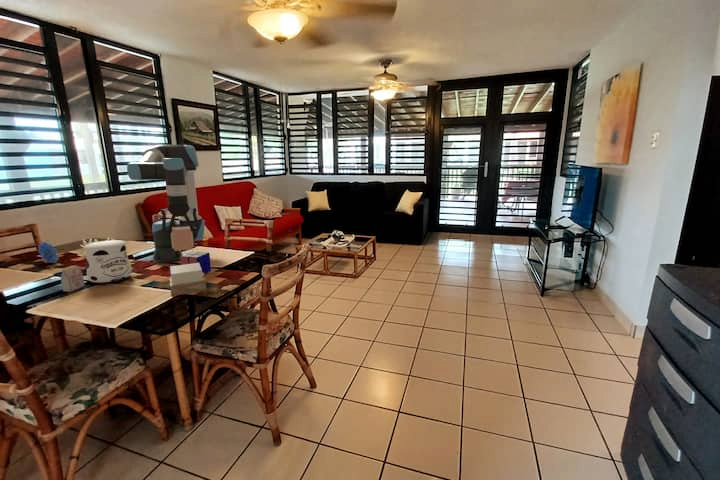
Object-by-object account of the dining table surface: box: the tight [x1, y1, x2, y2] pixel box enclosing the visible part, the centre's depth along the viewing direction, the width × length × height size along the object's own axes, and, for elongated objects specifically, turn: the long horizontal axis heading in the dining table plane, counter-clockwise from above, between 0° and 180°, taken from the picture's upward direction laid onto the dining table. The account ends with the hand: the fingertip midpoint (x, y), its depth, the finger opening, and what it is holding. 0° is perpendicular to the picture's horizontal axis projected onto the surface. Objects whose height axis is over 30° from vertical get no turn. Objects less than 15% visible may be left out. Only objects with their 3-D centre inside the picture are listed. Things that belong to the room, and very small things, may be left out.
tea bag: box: [60, 265, 86, 293], centre depth 150 cm, size 4×7×10 cm, turn 173°
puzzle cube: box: [179, 250, 212, 275], centre depth 172 cm, size 10×10×10 cm
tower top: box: [169, 263, 203, 285], centre depth 152 cm, size 12×12×5 cm
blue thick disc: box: [37, 241, 59, 264], centre depth 184 cm, size 12×7×12 cm, turn 79°
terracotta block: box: [172, 226, 193, 251], centre depth 148 cm, size 7×7×9 cm
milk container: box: [84, 239, 132, 284], centre depth 160 cm, size 17×17×18 cm
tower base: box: [169, 272, 208, 297], centre depth 153 cm, size 14×14×5 cm
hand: (183, 246), depth 149 cm, fingers closed on terracotta block, 7 cm apart
